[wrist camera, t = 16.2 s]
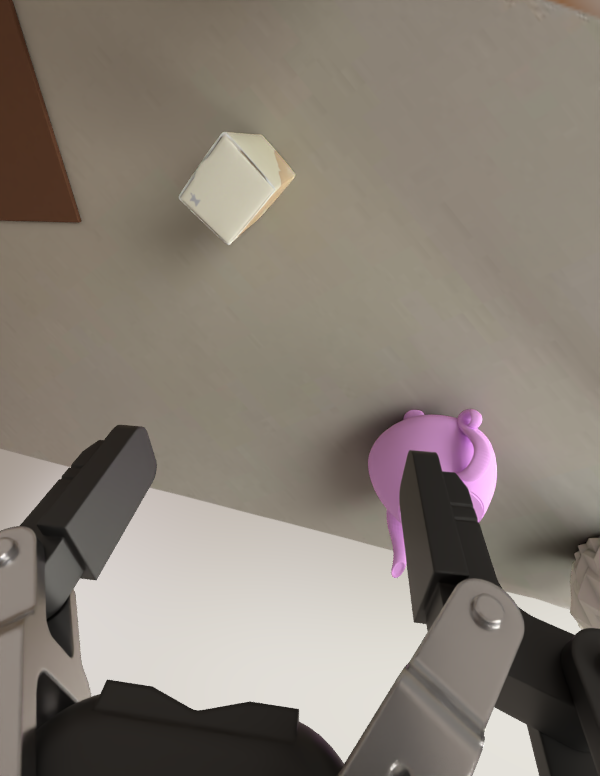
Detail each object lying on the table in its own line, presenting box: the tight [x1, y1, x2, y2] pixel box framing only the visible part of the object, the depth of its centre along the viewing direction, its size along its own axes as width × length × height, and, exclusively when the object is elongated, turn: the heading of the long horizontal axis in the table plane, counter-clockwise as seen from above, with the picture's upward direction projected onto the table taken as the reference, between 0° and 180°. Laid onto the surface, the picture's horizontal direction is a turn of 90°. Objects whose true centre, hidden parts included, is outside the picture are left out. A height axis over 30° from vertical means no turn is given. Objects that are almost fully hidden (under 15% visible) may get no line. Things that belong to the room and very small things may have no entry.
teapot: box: [368, 409, 497, 578], centre depth 42 cm, size 20×14×12 cm
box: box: [179, 132, 296, 245], centre depth 27 cm, size 5×4×11 cm
